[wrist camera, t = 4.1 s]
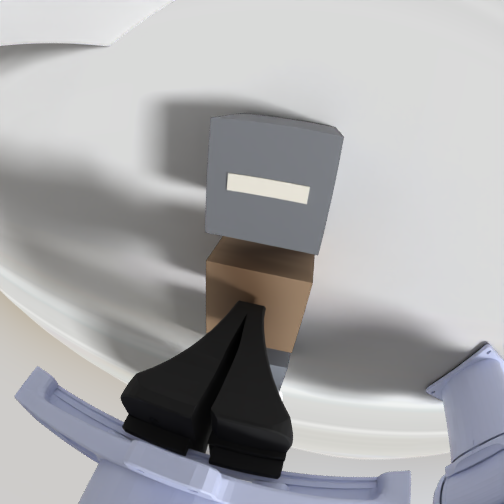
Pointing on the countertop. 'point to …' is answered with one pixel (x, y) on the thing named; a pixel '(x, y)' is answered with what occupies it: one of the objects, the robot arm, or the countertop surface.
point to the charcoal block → (271, 179)
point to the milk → (72, 20)
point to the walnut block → (260, 286)
